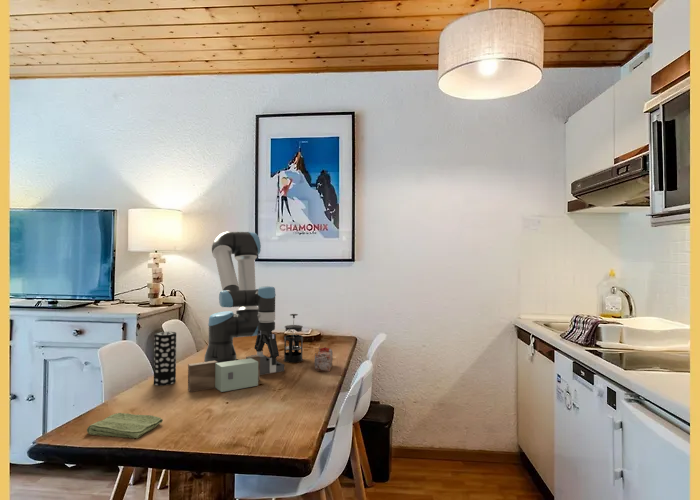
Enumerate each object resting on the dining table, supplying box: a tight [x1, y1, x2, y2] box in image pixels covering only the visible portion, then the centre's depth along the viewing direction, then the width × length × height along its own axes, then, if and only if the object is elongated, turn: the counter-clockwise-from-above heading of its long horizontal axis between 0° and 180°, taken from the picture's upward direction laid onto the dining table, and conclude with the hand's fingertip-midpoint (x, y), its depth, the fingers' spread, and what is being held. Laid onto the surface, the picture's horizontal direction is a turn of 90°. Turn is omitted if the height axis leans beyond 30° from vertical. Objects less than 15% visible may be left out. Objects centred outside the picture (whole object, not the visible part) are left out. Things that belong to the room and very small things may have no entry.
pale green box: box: [214, 358, 259, 393], centre depth 177 cm, size 8×15×10 cm, turn 126°
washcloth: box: [86, 412, 163, 440], centre depth 135 cm, size 13×18×3 cm
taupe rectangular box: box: [187, 354, 261, 393], centre depth 180 cm, size 3×28×10 cm, turn 126°
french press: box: [283, 313, 304, 364], centre depth 222 cm, size 12×9×23 cm
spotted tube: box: [153, 331, 177, 387], centre depth 182 cm, size 8×8×20 cm
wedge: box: [250, 353, 285, 376], centre depth 200 cm, size 5×14×8 cm, turn 126°
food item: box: [314, 346, 334, 373], centre depth 207 cm, size 14×8×10 cm, turn 179°
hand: (266, 369), depth 199 cm, fingers open, 13 cm apart
